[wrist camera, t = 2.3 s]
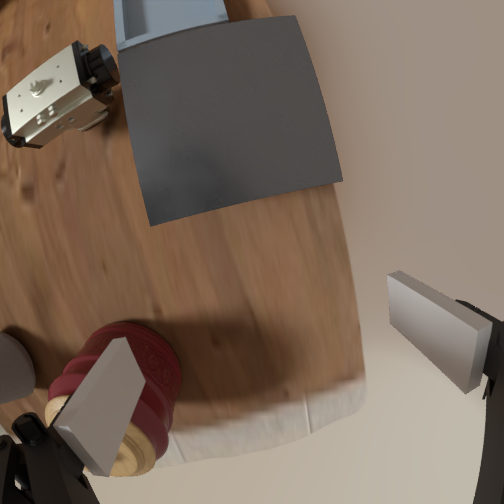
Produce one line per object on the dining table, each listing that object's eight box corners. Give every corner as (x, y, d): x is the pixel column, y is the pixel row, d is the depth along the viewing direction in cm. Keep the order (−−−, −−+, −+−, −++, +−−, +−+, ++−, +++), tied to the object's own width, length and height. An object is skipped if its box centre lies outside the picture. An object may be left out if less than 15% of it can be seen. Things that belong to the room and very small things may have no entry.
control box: (166, 109, 27) (117, 51, 13) (266, 86, 27) (294, 13, 13) (189, 209, 30) (150, 228, 15) (291, 184, 30) (343, 182, 15)
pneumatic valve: (49, 122, 26) (-15, 104, 14) (131, 72, 26) (86, 25, 14) (59, 160, 27) (-8, 155, 16) (144, 112, 27) (99, 75, 15)
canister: (196, 396, 35) (183, 508, 17) (113, 404, 34) (73, 496, 17) (162, 310, 32) (110, 415, 15) (74, 326, 32) (-2, 407, 14)
